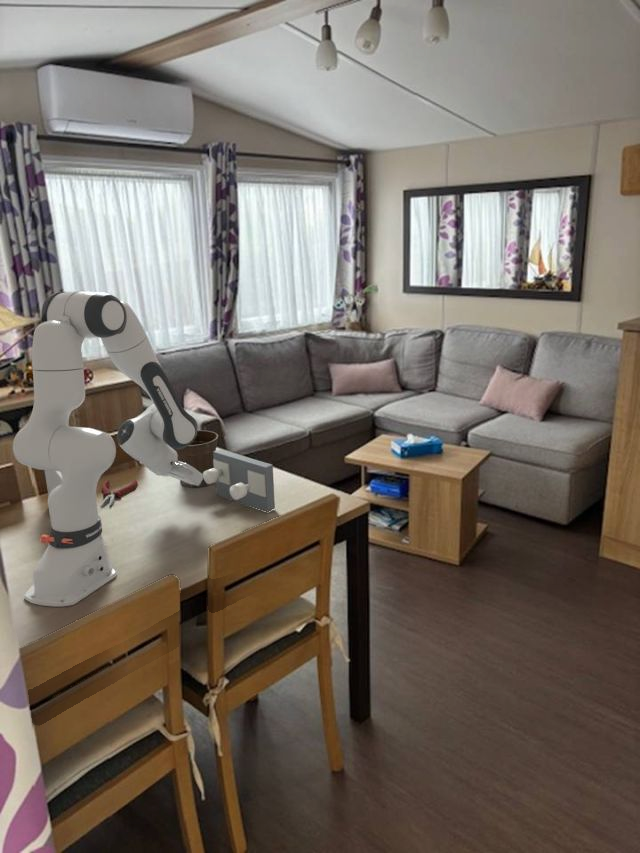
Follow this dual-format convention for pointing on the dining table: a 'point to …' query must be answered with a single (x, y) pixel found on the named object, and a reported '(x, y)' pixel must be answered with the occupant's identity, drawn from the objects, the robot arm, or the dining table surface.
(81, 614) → the dining table surface
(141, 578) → the dining table surface
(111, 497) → the pliers
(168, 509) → the dining table surface
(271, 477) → the mount
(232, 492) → the knob right
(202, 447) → the plant pot
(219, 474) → the knob left
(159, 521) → the dining table surface
